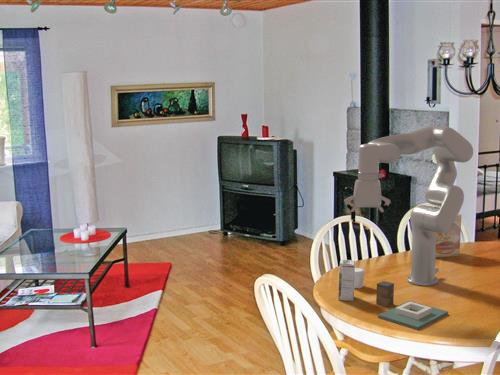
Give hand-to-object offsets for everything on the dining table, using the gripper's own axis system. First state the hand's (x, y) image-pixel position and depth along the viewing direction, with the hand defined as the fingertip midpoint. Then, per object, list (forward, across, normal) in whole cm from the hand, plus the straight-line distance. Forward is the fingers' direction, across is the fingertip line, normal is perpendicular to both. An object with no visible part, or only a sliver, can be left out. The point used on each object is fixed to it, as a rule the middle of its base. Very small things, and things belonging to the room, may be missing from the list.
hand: (366, 221), depth 253 cm
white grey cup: (+29, +2, -12) cm, 32 cm away
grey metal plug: (+29, -7, +9) cm, 31 cm away
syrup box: (+30, +7, +3) cm, 31 cm away
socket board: (+29, -15, +21) cm, 39 cm away
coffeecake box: (+28, -44, -56) cm, 77 cm away
